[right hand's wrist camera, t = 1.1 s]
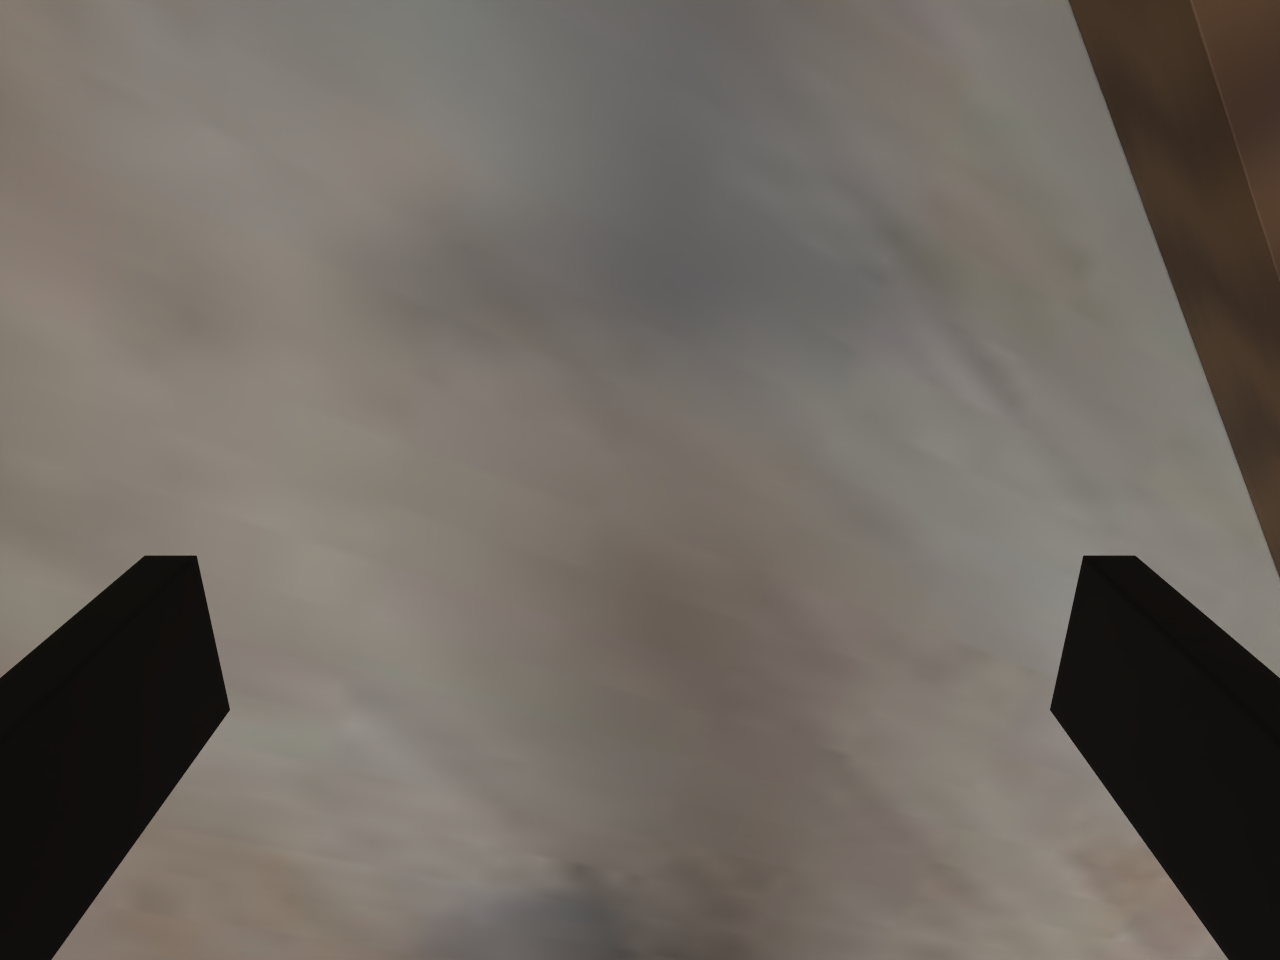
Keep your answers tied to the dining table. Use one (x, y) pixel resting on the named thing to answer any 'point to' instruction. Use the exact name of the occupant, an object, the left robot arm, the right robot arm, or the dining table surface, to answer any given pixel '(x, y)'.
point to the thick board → (1209, 192)
